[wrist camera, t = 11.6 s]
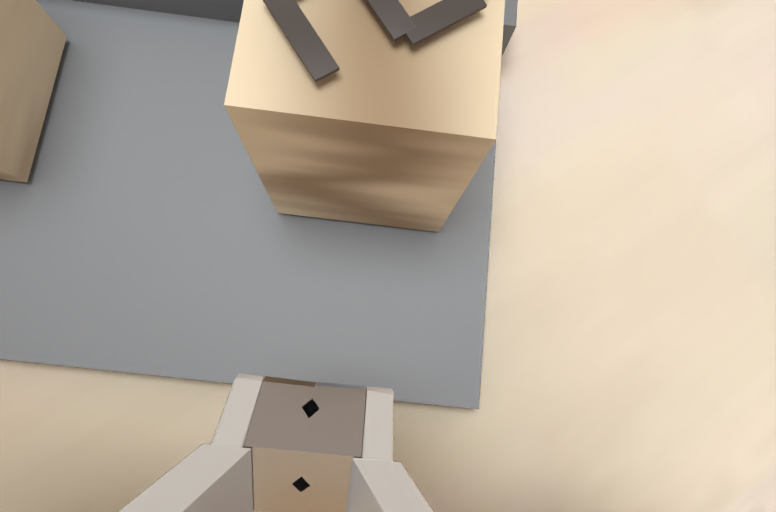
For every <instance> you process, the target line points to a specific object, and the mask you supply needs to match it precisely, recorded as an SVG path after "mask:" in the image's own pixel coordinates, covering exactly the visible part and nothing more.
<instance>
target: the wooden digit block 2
mask: <svg viewBox="0 0 776 512" xmlns="http://www.w3.org/2000/svg"><path fill="white" fill-rule="evenodd" d="M504 9H505V0H244V2H243V8H242V13H241V18H240V23H239V29H238V34H237V39H236V44H235V50H234V55H233V60H232V65H231V71H230V76H229V81H228V86H227V92H226V97H225V102H224V106H225V108H226V110H227V112H228V114H229V116H230V118H231V120H232V122H233V124H234V126H235V128H236V130H237V132H238V134H239V136H240V138H241V140H242V143H243V145H244V147H245V149H246V151H247V153H248V155H249V157H250V159H251V161H252V163H253V165H254V167H255V169H256V171H257V173H258V175H259V177H260V179H261V181H262V183H263V185H264V187H265V189H266V191H267V193H268V195H269V197H270V199H271V201H272V203H273V205H274V207H275V209H276V212H277V213H283V214H291V215H300V216H308V217H317V218H325V219H333V220H342V221H350V222H359V223H367V224H376V225H384V226H392V227H401V228H409V229H418V230H426V231H435V232H439V231H440V229H441V227H442V226H443V224H444V223H445V221H446V219H447V218H448V216H449V215H450V213H451V211H452V210H453V208H454V207H455V205H456V203H457V202H458V200H459V198H460V197H461V195H462V194H463V192H464V190H465V189H466V187H467V186H468V184H469V182H470V181H471V179H472V177H473V176H474V174H475V173H476V171H477V169H478V168H479V166H480V165H481V163H482V161H483V160H484V158H485V157H486V155H487V153H488V152H489V150H490V148H491V147H492V145H493V144H494V142H495V140H496V134H497V119H498V103H499V87H500V72H501V56H502V40H503V25H504Z"/></svg>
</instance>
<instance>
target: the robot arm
mask: <svg viewBox="0 0 776 512" xmlns="http://www.w3.org/2000/svg"><path fill="white" fill-rule="evenodd" d="M393 400H394V393H393V390H392V389H391V388H380V387H369V386H367V388H366V386H360V385H349V384H337V383H326V382H310V381H302V380H294V379H286V378H278V377H270V376H259V375H250V374H242V373H239V374H238V375H237V377H236V378H235V379H234V382H233V385H232V387H231V390H230V393H229V396H228V398H227V401H226V404H225V407H224V409H223V412H222V415H221V417H220V420H219V423H218V426H217V428H216V431H215V434H214V437H213V439H212V442H211V444H202V445H200V446H199V447H198V448H197V449H196V450H194V451H193V452H192V453H191V454H189V455H188V456H187V457H186V458H184V459H183V460H182V461H181V462H179V463H178V464H177V465H176V466H174V467H173V468H172V469H171V470H169V471H168V472H167V473H166V474H165V475H163V476H162V477H161V478H160V479H158V480H157V481H156V482H155V483H153V484H152V485H151V486H150V487H148V488H147V489H146V490H145V491H143V492H142V493H141V494H140V495H139V496H137V497H136V498H135V499H134V500H132V501H131V502H130V503H129V504H127V505H126V506H125V507H124V508H122V509H121V510H120V511H119V512H253V511H256V512H434V511H433V510H432V508H431V507H430V505H429V504H428V502H427V501H426V499H425V498H424V496H423V495H422V493H421V492H420V490H419V489H418V487H417V486H416V484H415V483H414V481H413V480H412V478H411V477H410V475H409V474H408V472H407V471H406V469H405V468H404V466H403V465H402V463H401V462H395V461H393Z"/></svg>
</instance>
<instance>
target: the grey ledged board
mask: <svg viewBox="0 0 776 512" xmlns="http://www.w3.org/2000/svg"><path fill="white" fill-rule="evenodd" d="M36 1H37V2H38V3H39V4H40V6H41V7H42V8H43V9H44V10H45V11H46V13H47V14H48V15H49V16H50V17H51V18H52V20H53V21H54V22H55V23H56V24H57V25H58V26H59V28H60V29H61V30H62V31H63V32H64V33H65V35H66V36H67V38H66V41H65V45H64V49H63V52H62V56H61V60H60V63H59V67H58V71H57V74H56V78H55V82H54V86H53V89H52V93H51V97H50V100H49V104H48V108H47V111H46V115H45V119H44V122H43V126H42V130H41V133H40V137H39V141H38V144H37V148H36V152H35V156H34V159H33V163H32V167H31V170H30V174H29V178H28V181H27V182H19V181H10V180H2V179H0V359H4V360H13V361H23V362H32V363H42V364H51V365H61V366H70V367H80V368H89V369H99V370H108V371H118V372H127V373H137V374H146V375H156V376H165V377H175V378H184V379H194V380H204V381H213V382H223V383H232V384H233V382H234V379H235V378H236V377H237V375H238V374H239V373H242V374H250V375H259V376H270V377H278V378H286V379H294V380H302V381H310V382H326V383H337V384H349V385H360V386H366V388H367V386H369V387H380V388H391V389H392V390H393V393H394V401H403V402H413V403H422V404H432V405H441V406H451V407H460V408H470V409H479V399H480V383H481V367H482V352H483V336H484V320H485V305H486V289H487V274H488V258H489V242H490V227H491V211H492V195H493V180H494V164H495V148H496V140H495V142H494V144H493V145H492V147H491V148H490V150H489V152H488V153H487V155H486V157H485V158H484V160H483V161H482V163H481V165H480V166H479V168H478V169H477V171H476V173H475V174H474V176H473V177H472V179H471V181H470V182H469V184H468V186H467V187H466V189H465V190H464V192H463V194H462V195H461V197H460V198H459V200H458V202H457V203H456V205H455V207H454V208H453V210H452V211H451V213H450V215H449V216H448V218H447V219H446V221H445V223H444V224H443V226H442V227H441V229H440V231H439V232H435V231H426V230H418V229H409V228H401V227H392V226H384V225H376V224H367V223H359V222H350V221H342V220H333V219H325V218H317V217H308V216H300V215H291V214H283V213H277V212H276V209H275V207H274V205H273V203H272V201H271V199H270V197H269V195H268V193H267V191H266V189H265V187H264V185H263V183H262V181H261V179H260V177H259V175H258V173H257V171H256V169H255V167H254V165H253V163H252V161H251V159H250V157H249V155H248V153H247V151H246V149H245V147H244V145H243V143H242V140H241V138H240V136H239V134H238V132H237V130H236V128H235V126H234V124H233V122H232V120H231V118H230V116H229V114H228V112H227V110H226V108H225V106H224V102H225V97H226V92H227V86H228V81H229V76H230V71H231V65H232V60H233V55H234V50H235V44H236V39H237V34H238V29H239V23H240V18H241V13H242V8H243V2H244V0H36ZM517 2H518V0H505V9H504V25H503V40H502V55H503V53H504V51H505V49H506V46H507V44H508V42H509V40H510V38H511V36H512V34H513V32H514V30H515V27H516V19H517ZM501 57H502V56H501Z"/></svg>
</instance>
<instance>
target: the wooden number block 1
mask: <svg viewBox="0 0 776 512" xmlns="http://www.w3.org/2000/svg"><path fill="white" fill-rule="evenodd" d="M66 38H67V36H66V35H65V33H64V32H63V31H62V30H61V29H60V28H59V26H58V25H57V24H56V23H55V22H54V21H53V20H52V18H51V17H50V16H49V15H48V14H47V13H46V11H45V10H44V9H43V8H42V7H41V6H40V4H39V3H38V2H37V1H36V0H0V179H2V180H10V181H19V182H27V181H28V178H29V174H30V170H31V167H32V163H33V159H34V156H35V152H36V148H37V144H38V141H39V137H40V133H41V130H42V126H43V122H44V119H45V115H46V111H47V108H48V104H49V100H50V97H51V93H52V89H53V86H54V82H55V78H56V74H57V71H58V67H59V63H60V60H61V56H62V52H63V49H64V45H65V41H66Z"/></svg>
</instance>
